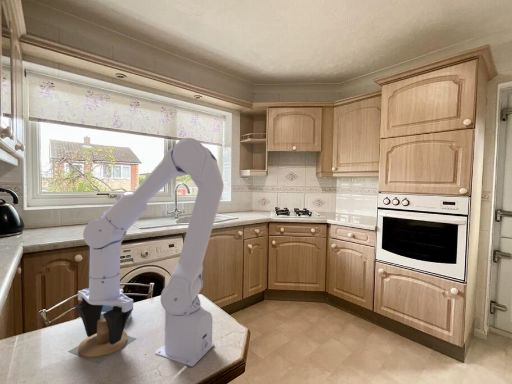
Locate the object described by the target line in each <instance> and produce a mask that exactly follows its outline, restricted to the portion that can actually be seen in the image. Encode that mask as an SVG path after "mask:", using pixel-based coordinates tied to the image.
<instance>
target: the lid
mask: <svg viewBox="0 0 512 384" xmlns="http://www.w3.org/2000/svg"><path fill="white" fill-rule="evenodd" d="M127 336H128V333H127V332H126V331H124V330H123V333H122V337H121V340H120V341H118V342H117V343H115V344H113V345H111V344H110V342H109V331H108V325H107V322H106V319H105V318H102V319H100V320H98V321H97V333H96V334H94V335H92V336H90V337H88V336H87V337H86V338H84V340H82V341H81V342H80V343H79V345H78V346H79V347H78V353H79V355H80V356H79V357H81V356H82V357H81V358H83V357H84V359H86V358H98V357H103V356H107V355H109V354H112V353H114V352H115V353H117V352H118V351H120V350H122V349H123V348H124V347H123V346H124V345H125V344H126V342H127ZM122 347H123V348H122ZM119 349H120V350H119ZM116 351H117V352H116ZM115 353H114V354H115ZM112 355H113V354H112Z"/></svg>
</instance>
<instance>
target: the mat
mask: <svg viewBox="0 0 512 384" xmlns="http://www.w3.org/2000/svg"><path fill="white" fill-rule="evenodd" d="M135 340H137V338H136V337H132V336H130V335H127V342H126V344H125V345H124V346H123V347H122V348H121V349H123V348H124V347H126V346H128V345H129V344H131V343H133V342H134V341H135ZM78 347H79V345H77V346H76V347H73V348H72V349H71V348H70V350H68V351H67V352H68V353H71V354H73V355H76V356H79V357H81V358H84V357H82V356H80V355H79V353H78ZM121 349H119V350H118V351H120V350H121ZM118 351H116V352H114V353H112V354H109V355H107V356H103V357H98V358H84V359H85V360H89V361H91V362H94V363H96V364H100V363H101V362H103V361H104V360H106V359H108V358H109V357H110V356H112V355H114V354H115V353H117V352H118Z"/></svg>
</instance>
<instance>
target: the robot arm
mask: <svg viewBox="0 0 512 384" xmlns="http://www.w3.org/2000/svg"><path fill="white" fill-rule="evenodd" d="M185 176H189V177H190V178H191V180H192V181H193V183H194V184H195V186H196V187H197V188H198V189H197V190H198V191H197V194H196V197H195V201H194V205H193V208H192V211H191V215H190V219H189V221H188V222H189V223H188V225H187V229H186V233H185V236H184V241H183V245H182V248H181V252H180V255H179V259H178V262H177V264H176V266H175V268H174V270H173V271H172V274H171V276H170V279H169V282H168V283H167V285H166V286H164V288H163V289H162V291H161V293H160V303H161V306H162V307H163V309H164V345H162V346H161V347H159V348H158V349H157V350H155V352H154V355H157V356H159V357H163V358H166V359H169V360H170V361H174V362H177V363H182V364H184V365H186V366H188V367H194V366H195V365H196V364H197V363H198V362H199V361H200V360H201V359H202V358H203V357H204V356H205V355H206V353H208V352H209V351H210V350H211V348H213V347H214V346H215V342H214V341H213V316H212V313H211V312H210V311H208V310H206V309H205V308H203V307H202V306H201V301H200V300H201V299H200V297H199V294H200V293H201V291H202V289H203V286H204V281H203V270H204V266H203V263H204V259H205V255H206V252H207V248H208V245H209V241H210V238H211V234H212V231H213V227H214V223H215V219H216V216H217V213H218V209H219V205H220V202H221V199H222V195H223V191H224V186H225V185H224V182H223V181H224V180H223V178H222V175H221V171H220V168H219V165H218V159H217V158H216V157H215V155H214V154H213V153H212V151H211V150H210V148H207V147H206V146H204V145H203V144H202V143H201V142H200V141H199V140H198V139H195V138H193V137H185V138H182V139H180V140H179V141H177V143H176V144H175V145H174V147H171V148H170V149H169V150H168V151H166V152H165V155H164V156H163V158H162V160H160V162H159V163H158V165H156V166H155V168H153V170H152V171H151V172H150V173H149V174H148V176H147V177H146V178H145V179H144V180H143V181H142V183H141V184H140V185H139V186H138V187H137V188H136V189H135V190H134V191H133V192H130V191H129V192H124V193H123V194H118V195H117V196H116V198H115V200H116V201H115V202H114V203H113V204H112V205H111V207H109V208H108V210H106V211H103V212H102V213H101V214H100V218H97V219H92V220H90V221H89V222H88V223H87V224H86V226H85V227H84V229H83V240H84V242H85V244H86V245H87V246H88V247H89V261H88V263H89V264H88V265H89V267H88V268H89V269H88V271H89V272H88V288H84V289H82V290H78V291H77V300H78V301H81V303H78V304H76V305H75V311H76V312H77V313H78V315H79V316H80V318H81V320H82V322H83V326H84V329H85V334H86V336H87V337H90V336H92V335H94V334H96V333H97V321H98V320H100V316H101V311H102V307H103V305H107V306H111V307H113V310H110V311H108V312H106V313H104V314H103V316H104V318H105V319H106V322H107V325H108V331H109V342H110V344H111V345H113V344H115V343H117V342H118V341H120V340H121V337H122V333H123V331H124V329H125V326H126V324H127V323H126V321H127V319H128V317H129V315H130V313H131V312H133V310H134V299H133V298H130V297H129V296H127V295H126V294H124V289H122V288H120V287H121V248H122V242H123V241H124V239H125V237H126V236H127V232H128V230H129V229H130V228H131V227H133V225H134V224H135V223H136V222H137V221H138V220H139V219H140V218H142V216H143V215H144V214H145V213H146V212H147V210H148V202H149V201H150V200H151V199H152V198H153V197H154V196H156V194H157V193H159V192H160V191H161V190H162V189H163V188H164V187H165V186H166V185H167V184H168V183H170V182H171V181H172V180H173V179H174V178H178V177H185Z"/></svg>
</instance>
